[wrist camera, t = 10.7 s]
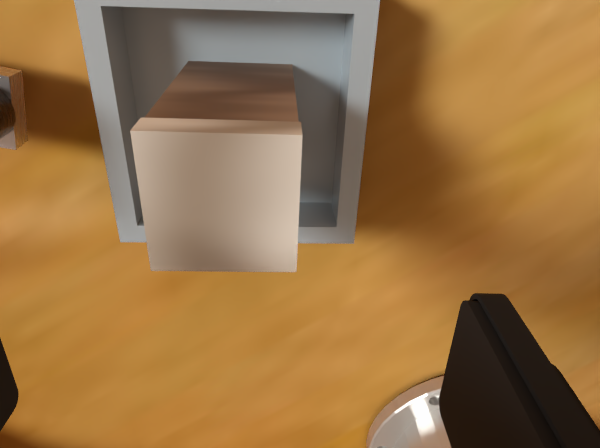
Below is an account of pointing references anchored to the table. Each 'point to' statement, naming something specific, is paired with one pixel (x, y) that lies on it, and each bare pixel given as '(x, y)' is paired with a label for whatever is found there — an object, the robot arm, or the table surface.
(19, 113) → the crank
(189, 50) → the tray
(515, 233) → the table surface
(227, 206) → the block
